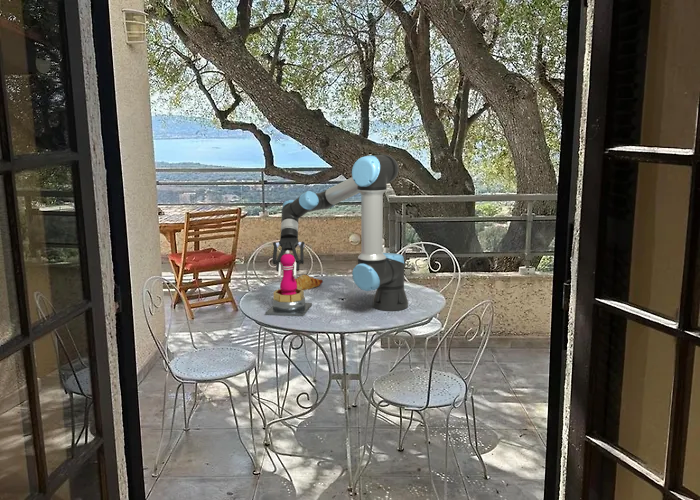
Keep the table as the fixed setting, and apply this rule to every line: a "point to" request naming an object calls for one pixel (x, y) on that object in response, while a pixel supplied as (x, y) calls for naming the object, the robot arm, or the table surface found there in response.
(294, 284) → the pepper mill
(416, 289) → the table surface
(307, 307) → the silver and gold bowl
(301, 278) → the croissant
